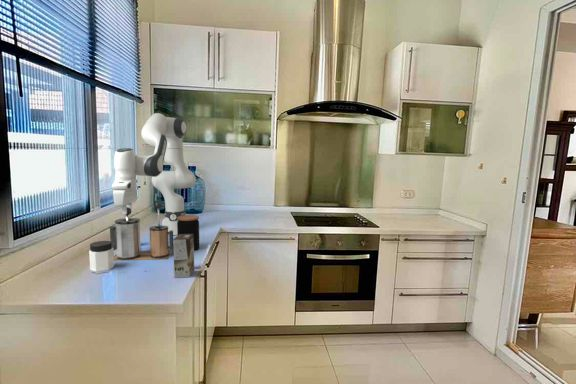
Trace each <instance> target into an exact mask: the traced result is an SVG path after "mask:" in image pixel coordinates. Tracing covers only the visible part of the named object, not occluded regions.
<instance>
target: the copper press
mask: <svg viewBox="0 0 576 384" xmlns="http://www.w3.org/2000/svg"><path fill="white" fill-rule="evenodd" d="M148 230H149V247H150V248H149V251H150V254H151V257H152V258H163V257H167V256H168V255H169V250H174V240H173V239H174V235H173V230H170V231H169V232H168V226H162V225H160V228H158V225H153V226H150V227H149V229H148ZM168 234H169V235H168Z"/></svg>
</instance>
